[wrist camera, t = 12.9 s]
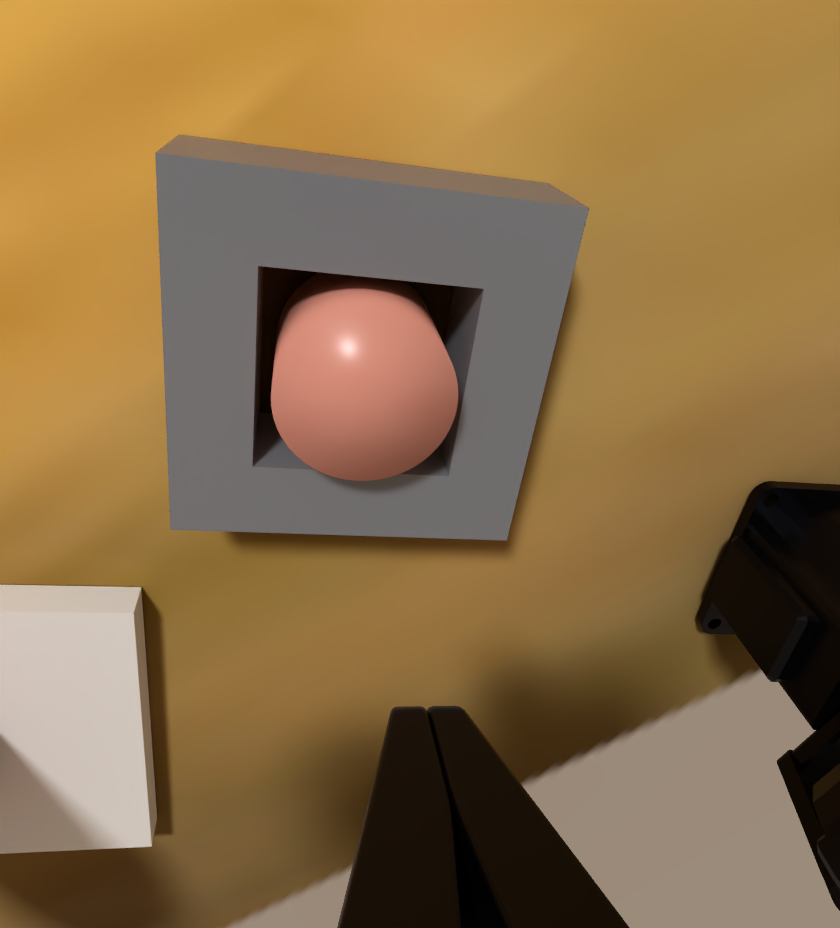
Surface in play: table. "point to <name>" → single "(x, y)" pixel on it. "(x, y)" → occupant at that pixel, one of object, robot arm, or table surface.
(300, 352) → the button
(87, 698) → the paper card
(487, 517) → the grey square frame
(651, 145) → the table surface
